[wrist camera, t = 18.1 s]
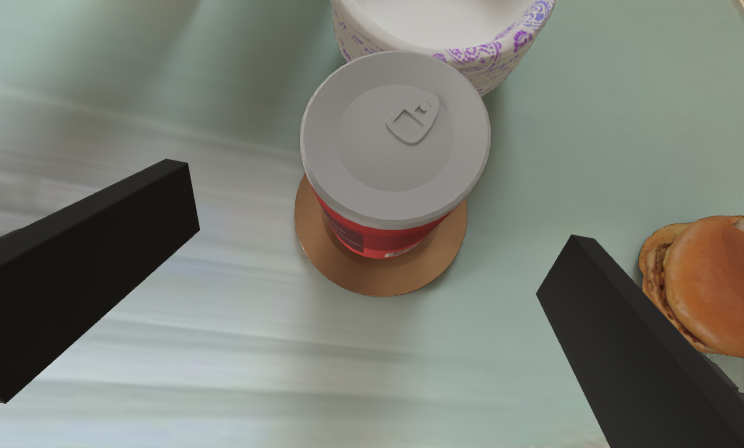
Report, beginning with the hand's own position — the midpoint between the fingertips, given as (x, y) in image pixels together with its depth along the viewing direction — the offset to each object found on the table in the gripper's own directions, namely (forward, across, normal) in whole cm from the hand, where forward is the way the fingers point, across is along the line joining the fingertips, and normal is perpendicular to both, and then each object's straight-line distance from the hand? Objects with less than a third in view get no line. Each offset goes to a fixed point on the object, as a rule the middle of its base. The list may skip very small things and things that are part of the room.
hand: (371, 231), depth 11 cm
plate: (+12, 0, -6) cm, 13 cm away
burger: (+11, +24, -6) cm, 27 cm away
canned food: (+11, 0, -5) cm, 12 cm away
